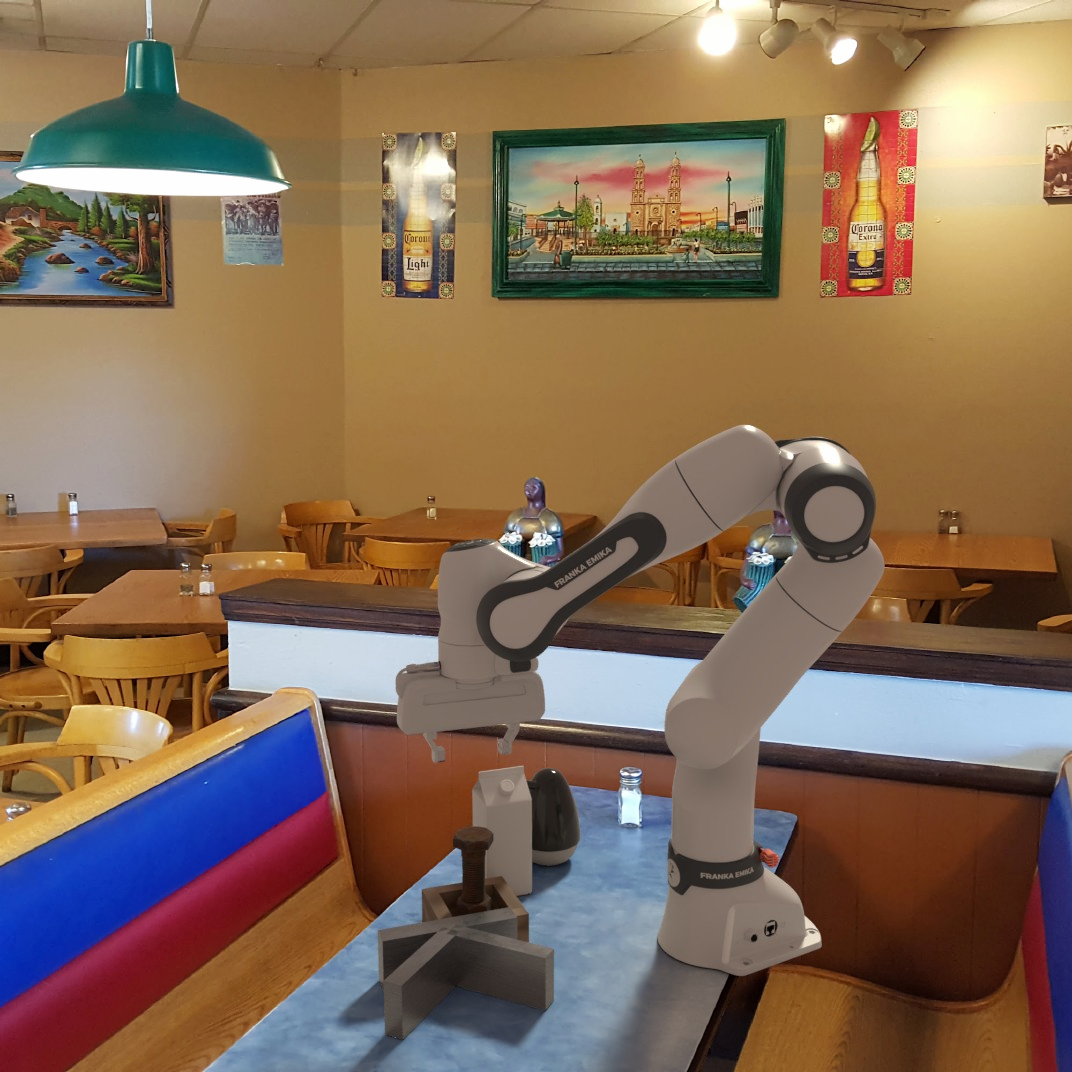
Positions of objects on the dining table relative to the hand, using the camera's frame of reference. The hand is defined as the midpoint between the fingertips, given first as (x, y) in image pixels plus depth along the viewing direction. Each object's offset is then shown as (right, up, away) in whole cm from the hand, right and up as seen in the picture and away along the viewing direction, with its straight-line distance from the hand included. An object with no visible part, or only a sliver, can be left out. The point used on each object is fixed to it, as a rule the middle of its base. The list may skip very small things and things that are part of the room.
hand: (472, 757), depth 154 cm
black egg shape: (+11, -22, +28) cm, 37 cm away
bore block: (0, -26, +4) cm, 26 cm away
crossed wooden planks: (-1, -28, -11) cm, 30 cm away
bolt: (0, -26, +4) cm, 26 cm away
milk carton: (+4, -24, +18) cm, 30 cm away
